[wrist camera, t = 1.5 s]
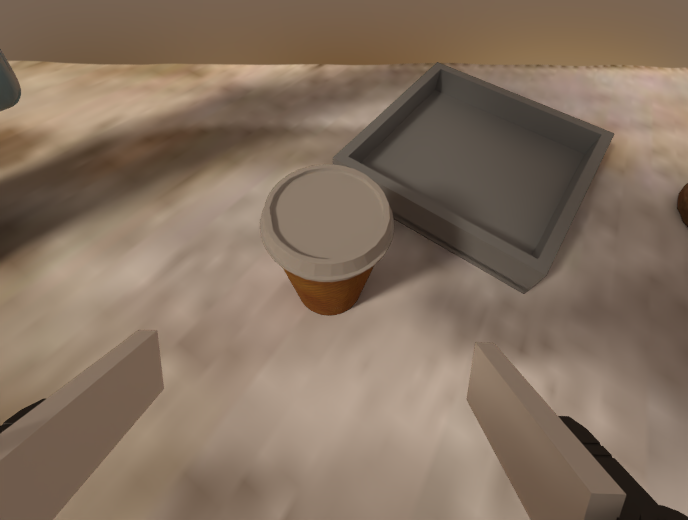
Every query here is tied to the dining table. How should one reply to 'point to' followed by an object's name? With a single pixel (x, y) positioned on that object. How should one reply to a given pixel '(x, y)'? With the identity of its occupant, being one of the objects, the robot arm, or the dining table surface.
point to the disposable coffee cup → (327, 233)
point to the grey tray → (481, 171)
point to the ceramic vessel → (683, 204)
